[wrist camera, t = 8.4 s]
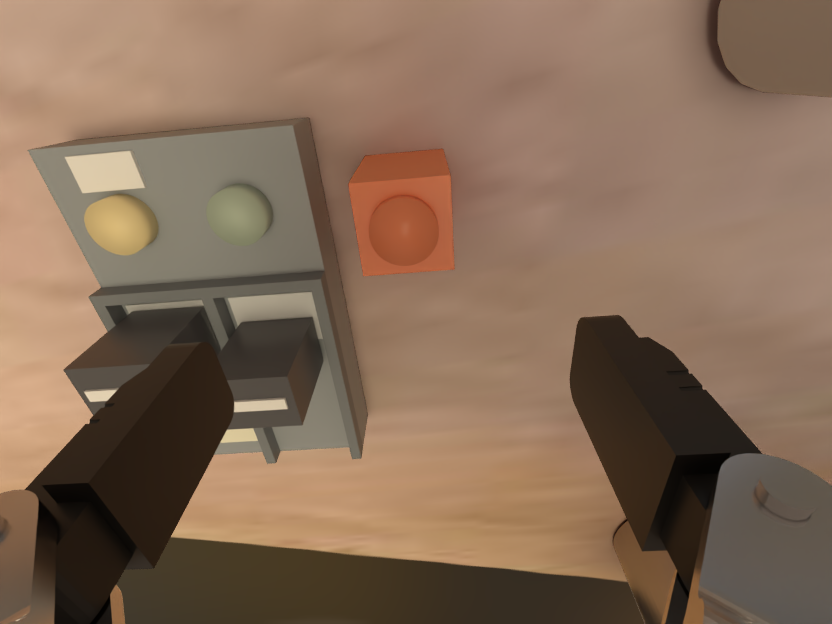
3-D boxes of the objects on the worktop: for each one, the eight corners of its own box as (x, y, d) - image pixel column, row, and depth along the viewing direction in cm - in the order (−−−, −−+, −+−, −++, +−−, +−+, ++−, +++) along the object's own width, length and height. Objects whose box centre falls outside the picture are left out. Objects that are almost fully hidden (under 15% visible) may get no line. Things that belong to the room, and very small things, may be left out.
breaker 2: (323, 361, 24) (302, 427, 20) (256, 365, 24) (219, 431, 20) (312, 317, 22) (286, 378, 18) (240, 322, 23) (197, 383, 18)
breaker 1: (221, 351, 24) (176, 416, 19) (154, 356, 24) (94, 421, 19) (203, 306, 22) (150, 365, 18) (131, 311, 22) (61, 371, 18)
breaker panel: (367, 414, 30) (360, 460, 27) (209, 423, 31) (182, 470, 27) (308, 117, 20) (285, 128, 17) (76, 139, 21) (4, 155, 17)
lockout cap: (446, 224, 23) (455, 275, 17) (375, 229, 23) (361, 282, 18) (442, 148, 21) (451, 178, 15) (365, 155, 21) (345, 187, 16)
